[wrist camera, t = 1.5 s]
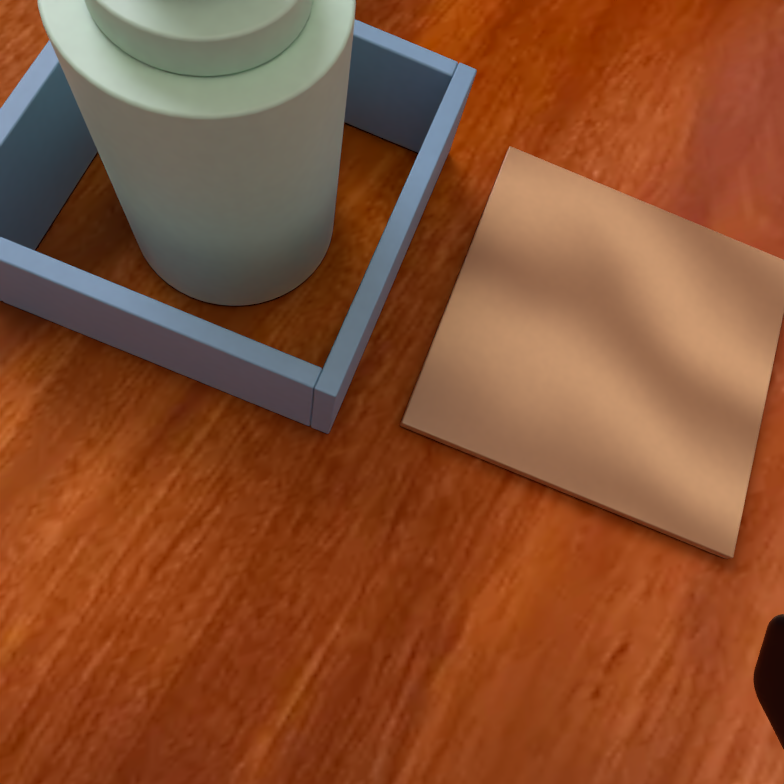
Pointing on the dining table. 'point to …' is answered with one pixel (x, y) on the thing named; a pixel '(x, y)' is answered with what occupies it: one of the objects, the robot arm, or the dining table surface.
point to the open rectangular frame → (175, 327)
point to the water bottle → (215, 130)
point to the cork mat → (606, 353)
